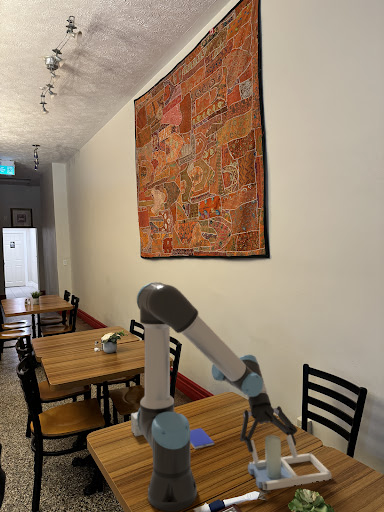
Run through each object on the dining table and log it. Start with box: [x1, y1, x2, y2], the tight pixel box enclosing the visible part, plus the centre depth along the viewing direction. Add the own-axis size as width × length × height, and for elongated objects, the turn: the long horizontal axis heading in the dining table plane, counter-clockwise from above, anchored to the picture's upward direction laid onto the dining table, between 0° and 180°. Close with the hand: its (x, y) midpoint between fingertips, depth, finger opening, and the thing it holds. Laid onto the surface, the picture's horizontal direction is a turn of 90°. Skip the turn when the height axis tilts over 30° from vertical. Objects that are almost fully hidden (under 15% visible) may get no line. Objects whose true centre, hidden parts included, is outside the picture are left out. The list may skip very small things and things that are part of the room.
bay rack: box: [247, 452, 332, 491], centre depth 122 cm, size 25×12×2 cm, turn 102°
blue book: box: [190, 427, 215, 450], centre depth 145 cm, size 2×8×12 cm
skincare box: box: [130, 411, 144, 437], centre depth 152 cm, size 6×6×7 cm
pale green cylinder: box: [264, 434, 282, 479], centre depth 120 cm, size 5×5×12 cm
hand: (276, 459), depth 118 cm, fingers open, 13 cm apart
